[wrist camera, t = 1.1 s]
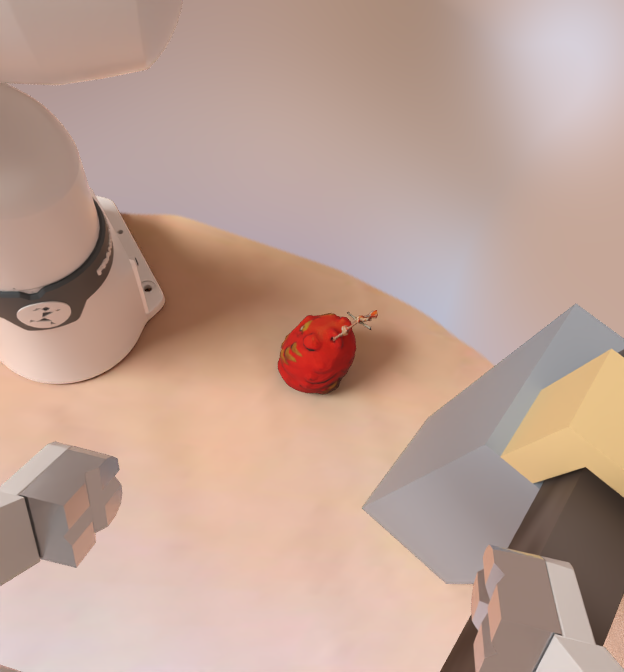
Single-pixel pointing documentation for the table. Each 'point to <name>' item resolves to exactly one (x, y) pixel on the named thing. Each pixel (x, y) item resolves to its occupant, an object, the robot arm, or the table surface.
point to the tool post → (507, 446)
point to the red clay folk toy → (319, 352)
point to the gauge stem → (570, 549)
